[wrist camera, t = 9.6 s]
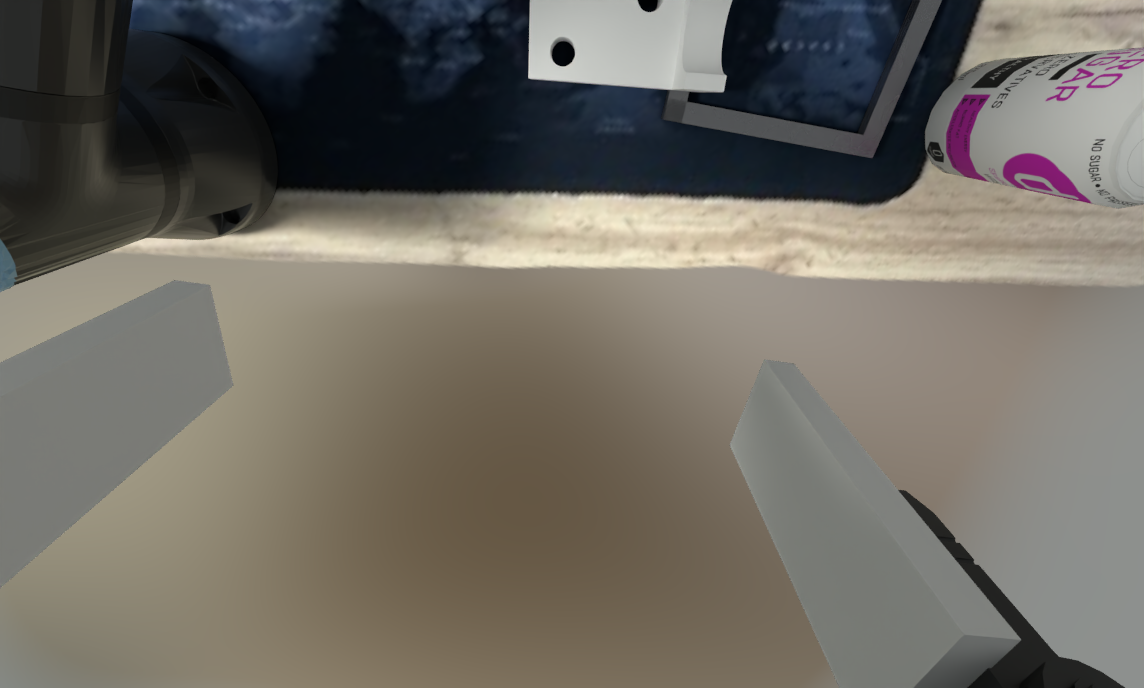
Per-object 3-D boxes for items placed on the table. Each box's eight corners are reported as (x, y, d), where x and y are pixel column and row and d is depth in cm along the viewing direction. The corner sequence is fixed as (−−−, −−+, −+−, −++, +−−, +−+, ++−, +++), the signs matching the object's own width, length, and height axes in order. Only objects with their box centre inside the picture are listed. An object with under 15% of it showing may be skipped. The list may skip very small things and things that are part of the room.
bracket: (715, -20, 33) (751, -48, 27) (696, 92, 37) (723, 92, 30) (534, -35, 33) (525, -68, 26) (532, 79, 36) (523, 76, 30)
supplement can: (965, 191, 40) (1159, 239, 27) (896, 140, 38) (1069, 165, 25) (1051, 98, 37) (1322, 100, 23) (981, 37, 35) (1233, 2, 21)
